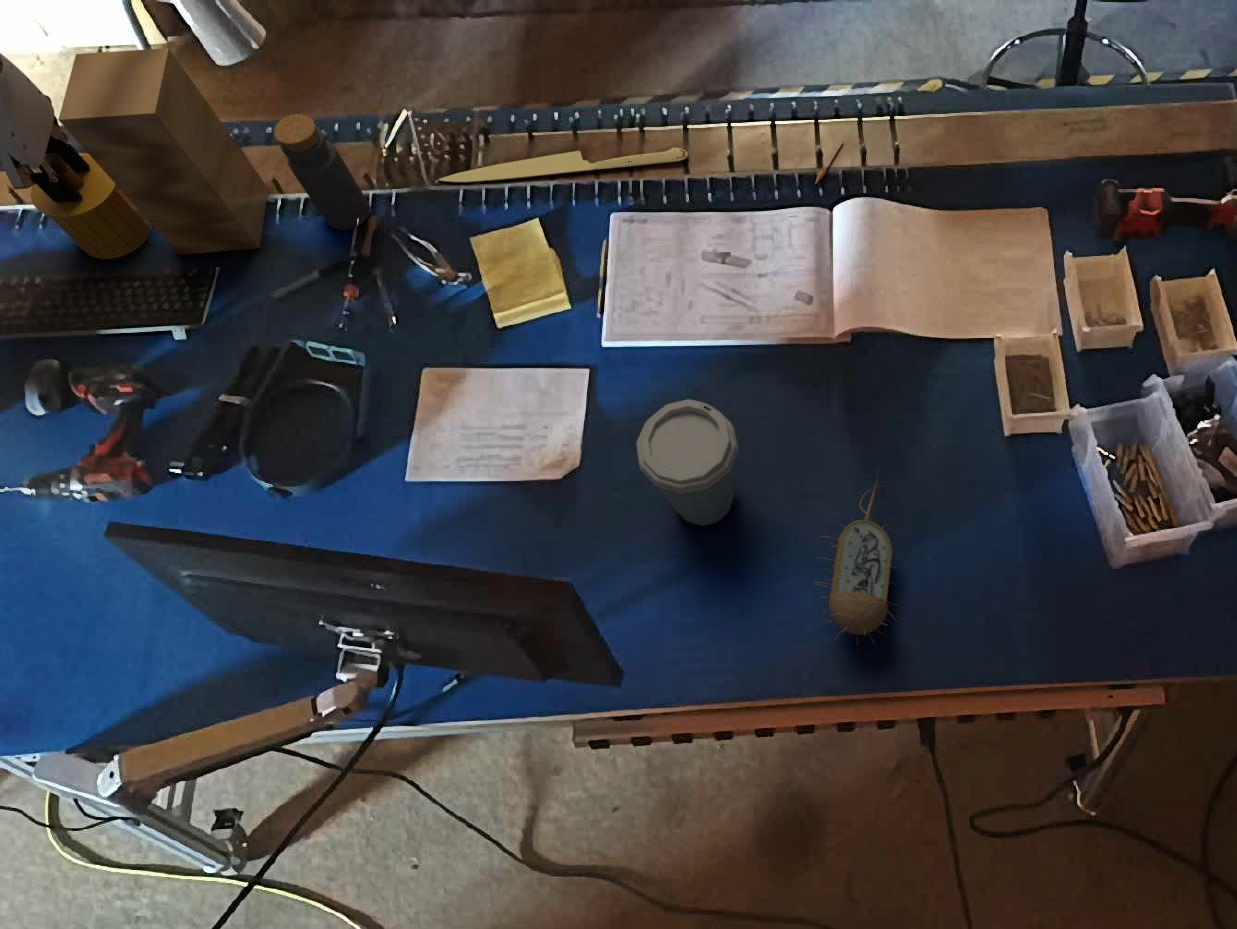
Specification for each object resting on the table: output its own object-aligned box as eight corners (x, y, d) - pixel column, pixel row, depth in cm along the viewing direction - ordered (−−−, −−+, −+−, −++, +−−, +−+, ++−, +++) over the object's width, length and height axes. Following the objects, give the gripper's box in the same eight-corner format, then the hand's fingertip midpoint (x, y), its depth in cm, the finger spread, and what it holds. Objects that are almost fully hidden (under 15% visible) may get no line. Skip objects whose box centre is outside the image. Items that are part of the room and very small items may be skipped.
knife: (436, 162, 143) (434, 185, 141) (685, 134, 146) (687, 155, 144) (439, 170, 144) (438, 192, 142) (686, 141, 147) (689, 163, 145)
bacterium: (893, 499, 126) (939, 470, 118) (873, 663, 118) (920, 643, 110) (815, 470, 122) (856, 438, 114) (788, 639, 113) (830, 617, 105)
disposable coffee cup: (713, 558, 120) (696, 502, 107) (637, 513, 122) (610, 451, 109) (766, 487, 124) (756, 424, 111) (691, 444, 126) (672, 377, 113)
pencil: (843, 144, 148) (843, 140, 147) (817, 187, 144) (817, 183, 144) (838, 142, 148) (838, 138, 147) (812, 185, 144) (812, 181, 144)
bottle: (315, 219, 139) (257, 135, 125) (345, 189, 141) (291, 103, 128) (350, 237, 138) (296, 153, 124) (380, 206, 140) (330, 121, 127)
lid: (15, 195, 129) (-13, 168, 125) (82, 145, 133) (57, 117, 129) (69, 232, 127) (42, 205, 123) (136, 180, 131) (112, 152, 127)
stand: (178, 254, 136) (57, 119, 115) (190, 194, 140) (75, 53, 119) (259, 248, 137) (154, 113, 116) (268, 188, 141) (168, 47, 120)
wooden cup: (63, 237, 136) (19, 195, 129) (120, 193, 140) (81, 149, 133) (110, 270, 135) (68, 228, 127) (167, 224, 138) (130, 181, 131)
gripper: (-59, 12, 116) (54, 135, 133) (-99, 126, 109) (26, 242, 126) (13, 7, 117) (117, 131, 133) (-22, 121, 110) (92, 236, 126)
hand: (72, 183), depth 129 cm, fingers open, 4 cm apart
